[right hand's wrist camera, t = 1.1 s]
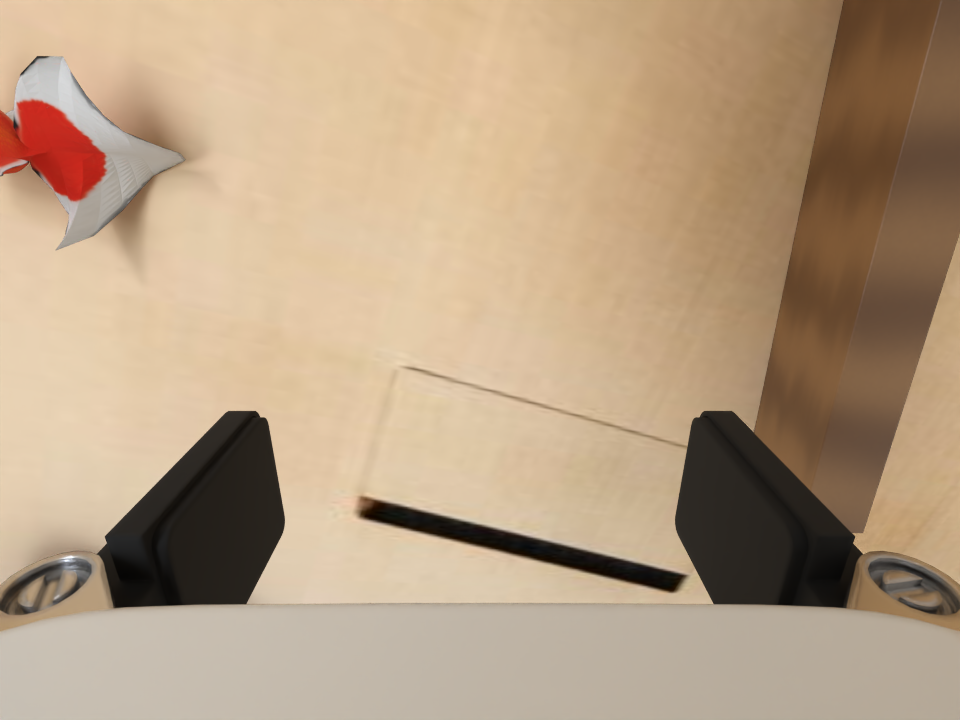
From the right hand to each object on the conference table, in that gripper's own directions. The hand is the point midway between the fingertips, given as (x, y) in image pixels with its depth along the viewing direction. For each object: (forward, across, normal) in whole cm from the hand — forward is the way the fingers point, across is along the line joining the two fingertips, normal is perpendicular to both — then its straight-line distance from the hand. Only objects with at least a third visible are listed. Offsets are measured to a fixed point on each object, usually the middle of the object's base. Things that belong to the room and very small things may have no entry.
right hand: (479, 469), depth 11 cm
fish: (+29, +27, -7) cm, 41 cm away
